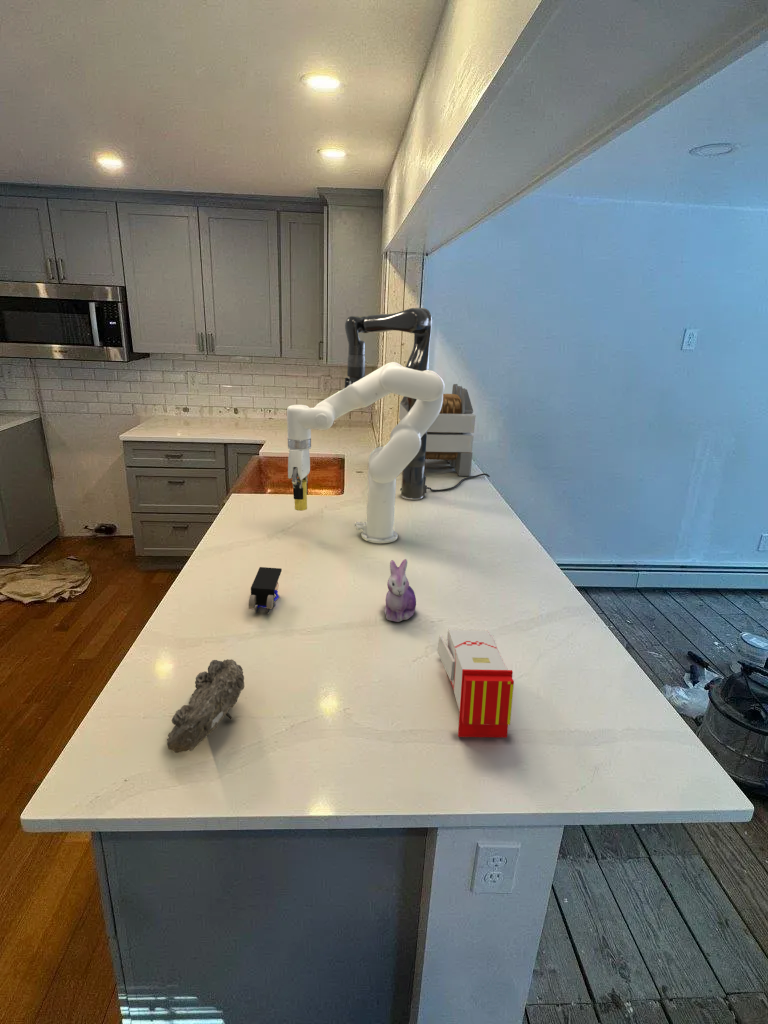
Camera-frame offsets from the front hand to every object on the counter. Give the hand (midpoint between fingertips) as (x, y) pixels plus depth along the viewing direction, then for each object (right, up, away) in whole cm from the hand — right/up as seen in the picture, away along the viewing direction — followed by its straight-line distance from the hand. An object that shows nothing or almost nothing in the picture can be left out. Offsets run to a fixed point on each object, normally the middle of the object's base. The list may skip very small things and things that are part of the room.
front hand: (300, 496), depth 190 cm
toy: (+46, -43, -72) cm, 95 cm away
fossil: (-5, -44, -82) cm, 94 cm away
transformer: (+52, +18, +96) cm, 111 cm away
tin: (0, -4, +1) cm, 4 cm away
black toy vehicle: (-3, -30, -41) cm, 51 cm away
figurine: (+32, -32, -43) cm, 62 cm away
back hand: (+15, +42, +57) cm, 73 cm away
